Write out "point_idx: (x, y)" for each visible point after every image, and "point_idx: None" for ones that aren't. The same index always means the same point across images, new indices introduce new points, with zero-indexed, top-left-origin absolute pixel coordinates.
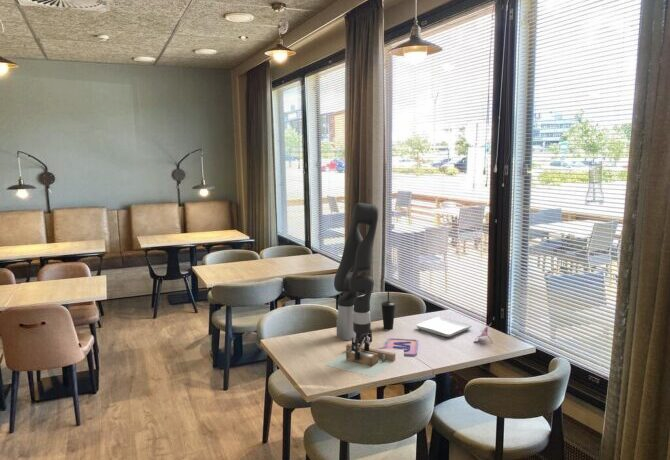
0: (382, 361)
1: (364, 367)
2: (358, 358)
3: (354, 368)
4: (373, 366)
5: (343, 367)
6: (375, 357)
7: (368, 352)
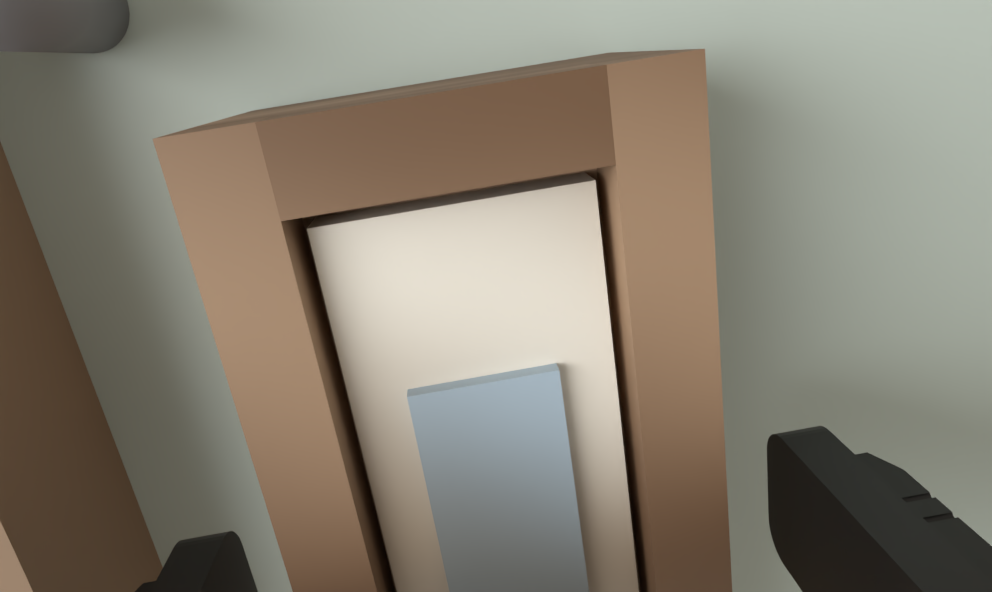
0: (125, 31)
1: (764, 188)
2: (839, 461)
3: (932, 331)
4: (577, 36)
5: (988, 524)
6: (414, 93)
7: (351, 487)
